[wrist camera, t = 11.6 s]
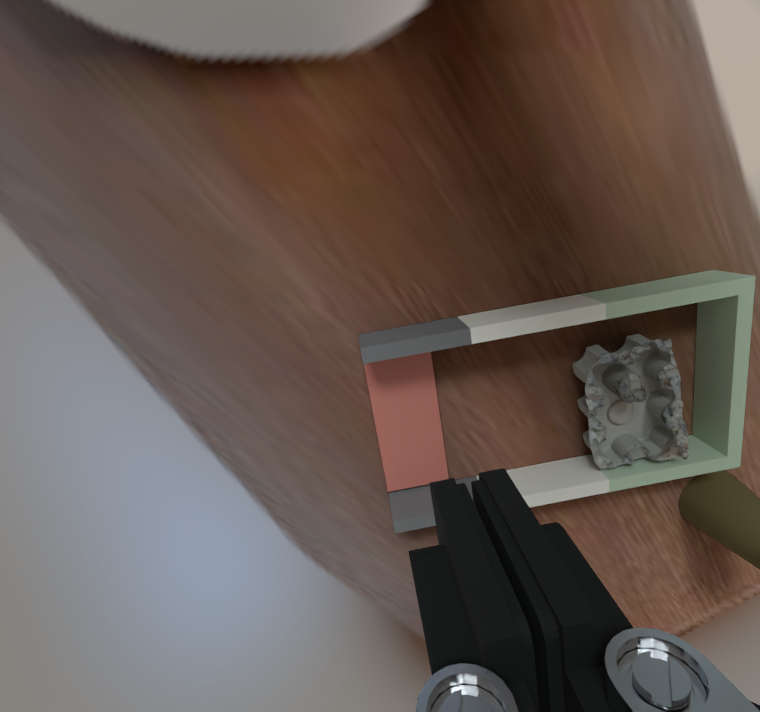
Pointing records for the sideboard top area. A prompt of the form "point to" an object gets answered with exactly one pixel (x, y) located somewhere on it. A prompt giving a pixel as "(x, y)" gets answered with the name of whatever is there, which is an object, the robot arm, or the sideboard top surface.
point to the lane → (416, 342)
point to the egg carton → (632, 402)
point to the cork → (724, 512)
